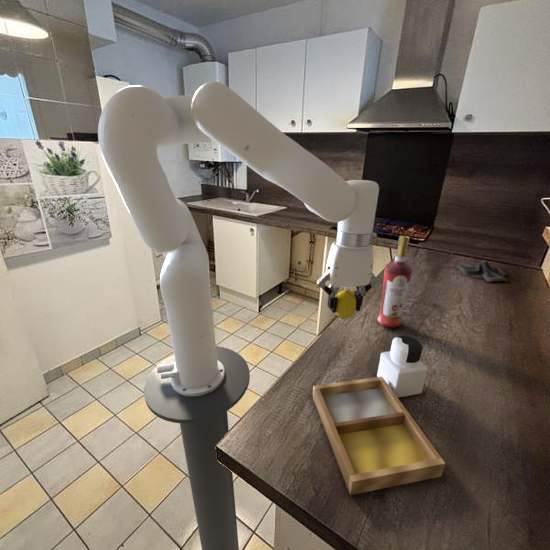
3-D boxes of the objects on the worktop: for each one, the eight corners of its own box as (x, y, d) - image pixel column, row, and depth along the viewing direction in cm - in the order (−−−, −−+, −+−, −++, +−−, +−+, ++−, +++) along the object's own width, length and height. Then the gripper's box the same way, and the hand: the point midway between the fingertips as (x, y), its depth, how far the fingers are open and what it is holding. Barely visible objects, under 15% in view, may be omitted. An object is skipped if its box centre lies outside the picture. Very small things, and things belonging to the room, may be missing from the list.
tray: (350, 495, 45) (352, 481, 44) (312, 397, 63) (313, 385, 62) (441, 476, 48) (445, 463, 47) (379, 387, 66) (382, 376, 65)
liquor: (397, 318, 93) (414, 233, 82) (404, 331, 87) (422, 241, 76) (374, 317, 94) (387, 233, 83) (378, 329, 87) (393, 240, 77)
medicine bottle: (402, 372, 71) (412, 330, 66) (422, 393, 64) (434, 349, 60) (376, 376, 69) (383, 334, 65) (393, 399, 63) (403, 354, 58)
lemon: (350, 327, 69) (354, 297, 66) (328, 320, 72) (331, 291, 69) (356, 317, 74) (361, 288, 71) (335, 311, 76) (339, 283, 73)
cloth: (503, 286, 116) (508, 272, 113) (452, 273, 128) (455, 260, 126) (514, 271, 130) (518, 258, 128) (467, 261, 142) (470, 249, 140)
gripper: (380, 233, 70) (369, 300, 77) (311, 234, 67) (306, 304, 74) (398, 242, 63) (383, 314, 70) (322, 244, 60) (315, 319, 67)
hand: (344, 308), depth 72 cm, fingers closed on lemon, 5 cm apart
